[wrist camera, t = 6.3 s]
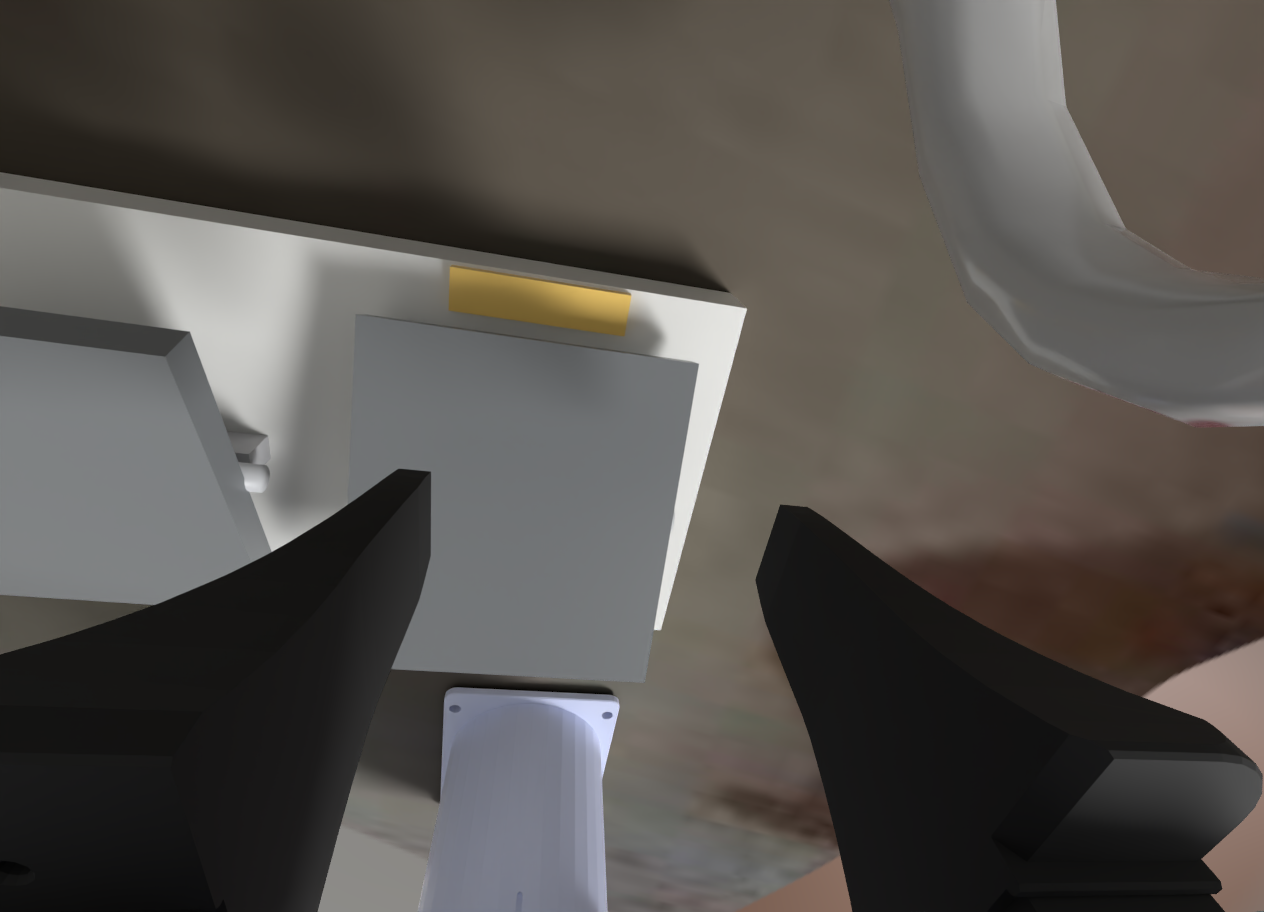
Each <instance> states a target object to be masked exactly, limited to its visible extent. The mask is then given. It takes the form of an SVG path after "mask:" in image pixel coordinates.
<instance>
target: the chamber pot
mask: <svg viewBox="0 0 1264 912" xmlns="http://www.w3.org/2000/svg"><path fill="white" fill-rule="evenodd" d="M889 1H890V5H891V8H892V12H893V15H894V19H895V22H896V26H897V29H898V34H899V40H900V47H901V54H902V61H903V68H904V74H905V81H906V88H907V95H908V102H909V108H910V115H911V122H912V129H913V136H914V143H915V149H916V156H917V163H918V170H919V176H920V179H921V182H922V184H923V187H924V190H925V192H926V195H927V198H928V200H929V203H930V205H931V208H932V211H933V213H934V216H935V219H936V221H937V224H938V227H939V229H940V232H941V234H942V237H943V240H944V242H945V245H946V248H947V250H948V253H949V256H950V258H951V261H952V263H953V266H954V269H955V271H956V274H957V277H958V279H959V282H960V285H961V287H962V290H963V292H964V295H965V298H966V300H967V303H968V304H969V305H970V306H971V307H972V308H973V309H974V310H975V311H976V312H977V313H978V314H979V315H980V316H981V317H982V318H983V319H984V320H985V321H986V322H987V323H988V324H989V325H990V326H991V327H992V328H993V329H994V330H995V331H996V332H997V333H998V334H999V335H1000V336H1001V337H1002V338H1004V339H1005V340H1006V341H1007V342H1008V343H1009V344H1010V345H1011V346H1012V347H1013V348H1014V349H1015V350H1016V351H1017V352H1018V353H1019V354H1020V355H1021V356H1022V357H1023V358H1024V359H1025V360H1026V361H1027V362H1028V363H1029V364H1031V365H1033V366H1036V367H1038V368H1040V369H1042V370H1044V371H1046V372H1049V373H1051V374H1053V375H1055V376H1057V377H1059V378H1062V379H1064V380H1066V381H1069V382H1072V383H1075V384H1078V385H1080V386H1083V387H1086V388H1089V389H1091V390H1094V391H1097V392H1100V393H1102V394H1105V395H1108V396H1111V397H1114V398H1116V399H1119V400H1122V401H1125V402H1127V403H1130V404H1133V405H1136V406H1139V407H1141V408H1144V409H1147V410H1150V411H1152V412H1155V413H1158V414H1161V415H1164V416H1166V417H1169V418H1172V419H1175V420H1177V421H1180V422H1183V423H1186V424H1189V425H1191V426H1194V427H1233V426H1264V278H1256V277H1248V276H1240V275H1231V274H1223V273H1215V272H1207V271H1199V270H1192V269H1190V268H1188V267H1187V266H1185V265H1184V264H1182V263H1180V262H1179V261H1177V260H1175V259H1174V258H1172V257H1171V256H1169V255H1167V254H1166V253H1164V252H1163V251H1161V250H1159V249H1158V248H1156V247H1154V246H1153V245H1151V244H1150V243H1148V242H1146V241H1145V240H1143V239H1141V238H1140V237H1138V236H1137V235H1135V234H1133V233H1132V232H1130V231H1128V230H1127V229H1126V228H1125V226H1124V224H1123V222H1122V220H1121V218H1120V216H1119V214H1118V212H1117V210H1116V208H1115V206H1114V204H1113V202H1112V200H1111V198H1110V196H1109V194H1108V191H1107V189H1106V187H1105V185H1104V183H1103V181H1102V179H1101V177H1100V175H1099V173H1098V171H1097V169H1096V167H1095V165H1094V163H1093V161H1092V159H1091V157H1090V155H1089V153H1088V150H1087V148H1086V146H1085V144H1084V142H1083V140H1082V138H1081V136H1080V134H1079V132H1078V130H1077V128H1076V126H1075V124H1074V122H1073V120H1072V118H1071V116H1070V114H1069V112H1068V109H1067V107H1066V100H1065V90H1064V80H1063V70H1062V59H1061V49H1060V39H1059V29H1058V18H1057V8H1056V0H889Z"/></svg>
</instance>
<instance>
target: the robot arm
mask: <svg viewBox="0 0 1264 912" xmlns="http://www.w3.org/2000/svg"><path fill="white" fill-rule="evenodd" d="M430 557H431V471H420V470H409V469H397V470H396V471H394V472H393V473H391V474H390V475H388V476H387V477H386V478H384V479H383V480H381V481H380V482H379V483H377V484H376V485H375V486H373V487H372V488H370V489H369V490H368V491H366V492H365V493H363V494H362V495H361V496H359V497H358V498H357V499H355V500H354V501H352V502H351V503H349V504H348V505H346V506H345V507H344V508H342V509H341V510H339V511H338V512H336V513H335V514H333V515H332V516H331V517H329V518H327V519H326V520H324V521H322V522H321V523H319V524H318V525H316V526H314V527H313V528H311V529H310V530H308V531H306V532H305V533H303V534H301V535H300V536H298V537H297V538H295V539H293V540H292V541H290V542H289V543H287V544H285V545H283V546H281V547H280V548H278V549H276V550H274V551H272V552H271V553H269V554H267V555H265V556H263V557H261V558H259V559H257V560H255V561H253V562H251V563H249V564H247V565H245V566H243V567H241V568H239V569H237V570H235V571H233V572H231V573H229V574H227V575H225V576H223V577H220V578H218V579H216V580H213V581H211V582H209V583H206V584H204V585H202V586H199V587H197V588H194V589H192V590H190V591H187V592H185V593H183V594H180V595H178V596H175V597H173V598H171V599H168V600H166V601H164V602H161V603H159V604H156V605H153V606H151V607H148V608H145V609H143V610H140V611H137V612H134V613H132V614H129V615H126V616H123V617H121V618H118V619H115V620H112V621H109V622H106V623H103V624H100V625H97V626H94V627H91V628H88V629H85V630H82V631H79V632H76V633H73V634H70V635H66V636H63V637H60V638H57V639H54V640H50V641H47V642H43V643H40V644H36V645H33V646H29V647H25V648H22V649H18V650H15V651H11V652H8V653H4V654H1V655H0V912H317V911H318V907H319V904H320V900H321V896H322V892H323V888H324V884H325V881H326V877H327V873H328V869H329V865H330V862H331V858H332V855H333V851H334V847H335V843H336V840H337V835H338V832H339V829H340V825H341V822H342V818H343V814H344V811H345V807H346V804H347V800H348V797H349V793H350V790H351V786H352V782H353V779H354V775H355V772H356V769H357V765H358V762H359V758H360V755H361V752H362V748H363V745H364V742H365V738H366V735H367V731H368V728H369V725H370V722H371V719H372V716H373V713H374V711H375V708H376V705H377V702H378V700H379V697H380V695H381V692H382V690H383V687H384V685H385V683H386V680H387V678H388V675H389V673H390V670H391V668H392V666H393V663H394V661H395V658H396V656H397V653H398V651H399V649H400V646H401V644H402V641H403V639H404V636H405V634H406V632H407V629H408V627H409V624H410V622H411V619H412V617H413V614H414V612H415V609H416V607H417V604H418V602H419V599H420V595H421V592H422V588H423V584H424V581H425V577H426V573H427V569H428V565H429V561H430ZM756 584H757V589H758V593H759V598H760V603H761V607H762V611H763V614H764V618H765V622H766V625H767V627H768V630H769V633H770V635H771V638H772V640H773V643H774V646H775V648H776V651H777V653H778V656H779V658H780V661H781V663H782V666H783V668H784V671H785V673H786V676H787V678H788V681H789V683H790V686H791V688H792V691H793V693H794V696H795V698H796V701H797V703H798V706H799V708H800V711H801V713H802V716H803V719H804V722H805V725H806V727H807V730H808V733H809V736H810V739H811V743H812V746H813V750H814V753H815V757H816V761H817V764H818V768H819V771H820V775H821V778H822V782H823V786H824V790H825V794H826V798H827V802H828V805H829V809H830V813H831V817H832V821H833V825H834V829H835V833H836V837H837V842H838V846H839V851H840V856H841V860H842V865H843V869H844V874H845V878H846V883H847V887H848V892H849V896H850V901H851V906H852V912H1225V911H1224V910H1223V909H1222V908H1221V907H1220V905H1219V904H1218V903H1217V902H1216V901H1215V899H1214V898H1213V897H1212V896H1211V895H1210V894H1217V893H1218V892H1219V891H1220V890H1222V886H1221V881H1220V880H1219V879H1218V878H1217V877H1216V875H1215V874H1214V873H1213V872H1212V871H1211V870H1210V869H1209V867H1208V866H1207V865H1206V864H1205V863H1204V862H1203V861H1202V860H1201V858H1203V857H1204V856H1205V855H1206V854H1207V853H1208V852H1209V851H1210V850H1212V849H1213V848H1214V847H1215V846H1216V845H1217V844H1218V843H1219V842H1220V841H1221V840H1222V839H1223V838H1225V837H1226V836H1227V835H1228V834H1229V833H1230V832H1231V831H1232V830H1233V829H1234V828H1236V827H1237V826H1238V825H1239V824H1240V823H1241V822H1242V821H1243V820H1244V819H1245V818H1246V817H1247V816H1248V814H1249V813H1250V812H1251V811H1252V810H1253V809H1254V808H1255V806H1256V804H1257V802H1258V800H1259V798H1260V796H1261V794H1262V773H1261V771H1260V770H1259V768H1258V766H1257V765H1256V763H1254V762H1253V761H1252V760H1251V759H1250V758H1249V757H1248V756H1247V755H1246V754H1244V753H1243V752H1242V751H1241V750H1240V749H1239V748H1238V747H1237V746H1236V745H1235V744H1234V743H1232V742H1231V741H1230V740H1229V739H1228V738H1227V737H1226V736H1225V735H1224V734H1223V733H1221V732H1220V731H1219V730H1218V729H1216V728H1215V727H1214V726H1213V725H1211V724H1210V723H1208V722H1207V721H1205V720H1203V719H1200V718H1198V717H1195V716H1192V715H1189V714H1187V713H1183V712H1181V711H1178V710H1176V709H1173V708H1170V707H1167V706H1165V705H1162V704H1159V703H1156V702H1154V701H1151V700H1148V699H1145V698H1143V697H1140V696H1137V695H1135V694H1132V693H1129V692H1126V691H1124V690H1121V689H1119V688H1116V687H1114V686H1111V685H1109V684H1107V683H1104V682H1102V681H1099V680H1097V679H1095V678H1092V677H1090V676H1088V675H1085V674H1083V673H1080V672H1078V671H1076V670H1073V669H1071V668H1069V667H1067V666H1064V665H1062V664H1060V663H1058V662H1056V661H1053V660H1051V659H1049V658H1047V657H1045V656H1043V655H1041V654H1039V653H1037V652H1034V651H1032V650H1030V649H1028V648H1026V647H1024V646H1022V645H1020V644H1018V643H1016V642H1014V641H1012V640H1010V639H1008V638H1006V637H1004V636H1002V635H1001V634H999V633H997V632H995V631H993V630H991V629H989V628H987V627H986V626H984V625H982V624H980V623H979V622H977V621H975V620H973V619H972V618H970V617H968V616H966V615H965V614H963V613H961V612H960V611H958V610H956V609H954V608H953V607H951V606H949V605H948V604H946V603H944V602H943V601H941V600H940V599H938V598H936V597H935V596H933V595H932V594H930V593H929V592H927V591H926V590H924V589H923V588H921V587H920V586H918V585H917V584H915V583H914V582H912V581H911V580H909V579H908V578H906V577H905V576H903V575H902V574H900V573H899V572H898V571H896V570H895V569H893V568H892V567H891V566H889V565H888V564H886V563H885V562H884V561H882V560H881V559H880V558H878V557H877V556H875V555H874V554H873V553H871V552H870V551H869V550H867V549H866V548H865V547H863V546H862V545H861V544H859V543H858V542H857V541H855V540H854V539H853V538H851V537H850V536H849V535H847V534H846V533H845V532H843V531H842V530H840V529H839V528H838V527H836V526H835V525H834V524H832V523H831V522H829V521H828V520H827V519H825V518H824V517H822V516H821V515H819V514H818V513H816V512H815V511H813V510H811V509H810V508H808V507H800V506H790V505H780V507H779V510H778V513H777V516H776V519H775V522H774V525H773V528H772V531H771V534H770V537H769V540H768V543H767V546H766V549H765V552H764V556H763V559H762V562H761V565H760V568H759V571H758V574H757V577H756ZM618 711H619V700H618V698H617V697H615V696H614V695H604V694H584V693H564V692H543V691H523V690H502V689H482V688H462V687H455V688H451V689H449V690H448V691H447V692H446V694H445V699H444V717H443V743H442V770H441V796H440V805H439V810H438V815H437V820H436V824H435V829H434V834H433V839H432V844H431V849H430V854H429V859H428V863H427V868H426V873H425V878H424V884H423V888H422V893H421V898H420V902H419V907H418V912H607V891H606V866H605V842H604V818H603V794H602V777H603V773H604V769H605V764H606V760H607V756H608V752H609V748H610V744H611V740H612V736H613V732H614V728H615V724H616V719H617V715H618ZM1257 912H1264V911H1257Z"/></svg>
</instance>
